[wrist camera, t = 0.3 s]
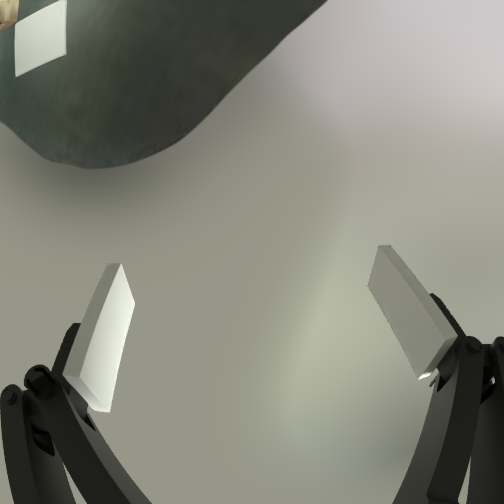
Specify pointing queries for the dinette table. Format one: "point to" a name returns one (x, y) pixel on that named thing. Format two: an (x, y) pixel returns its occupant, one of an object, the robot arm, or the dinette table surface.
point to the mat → (40, 37)
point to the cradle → (8, 13)
